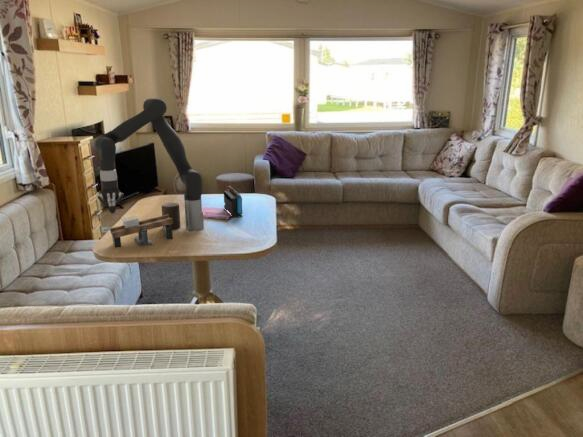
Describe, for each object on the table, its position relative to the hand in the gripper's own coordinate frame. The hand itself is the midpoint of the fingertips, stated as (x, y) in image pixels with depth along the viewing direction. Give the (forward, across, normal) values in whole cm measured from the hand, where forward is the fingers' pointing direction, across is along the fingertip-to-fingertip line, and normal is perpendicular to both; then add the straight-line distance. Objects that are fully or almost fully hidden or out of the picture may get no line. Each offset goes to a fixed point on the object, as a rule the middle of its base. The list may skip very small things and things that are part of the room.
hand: (112, 212), depth 232 cm
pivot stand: (+17, -14, 0) cm, 22 cm away
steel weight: (+9, -9, 0) cm, 13 cm away
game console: (+17, -74, -28) cm, 81 cm away
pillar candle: (+17, -33, -16) cm, 40 cm away
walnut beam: (+9, -14, 0) cm, 16 cm away
